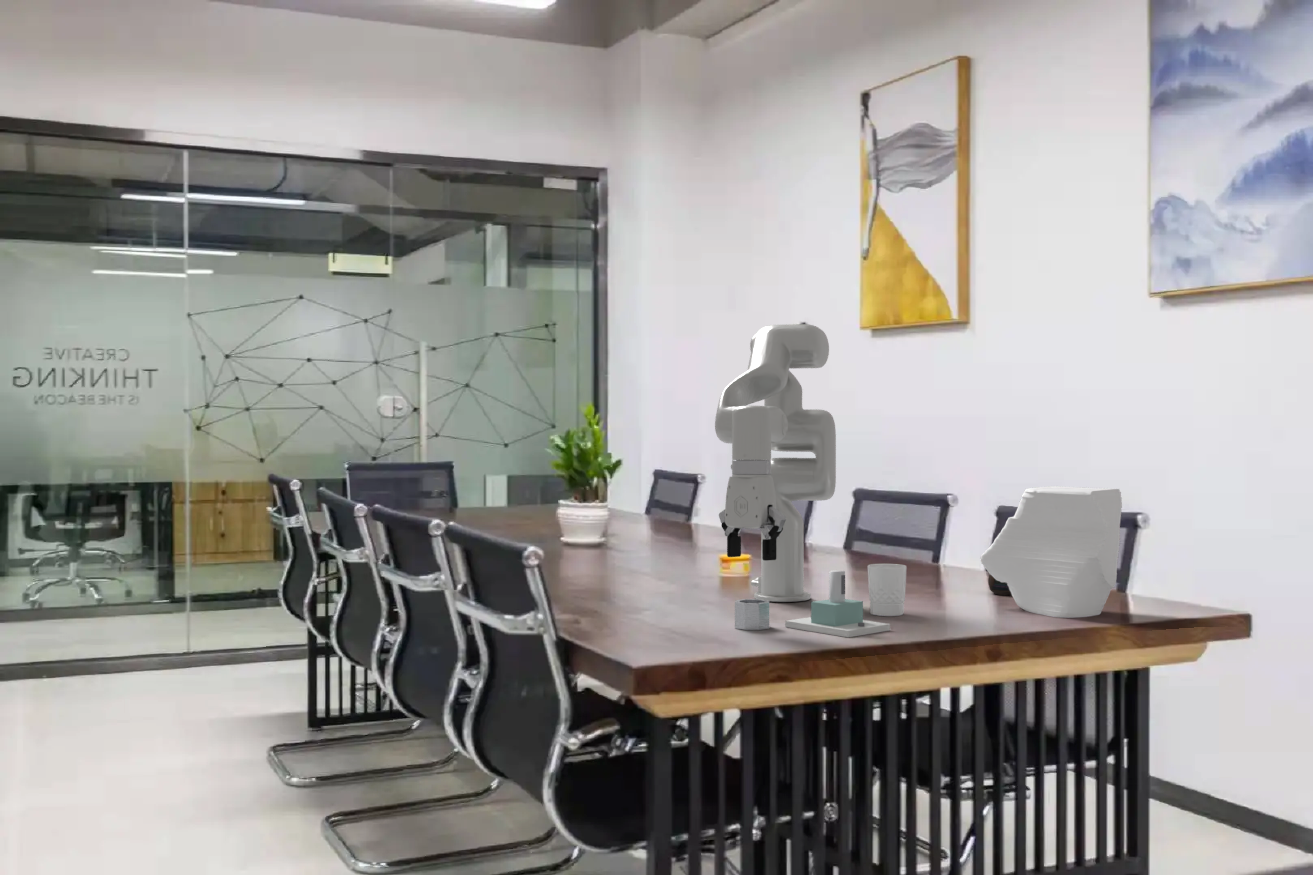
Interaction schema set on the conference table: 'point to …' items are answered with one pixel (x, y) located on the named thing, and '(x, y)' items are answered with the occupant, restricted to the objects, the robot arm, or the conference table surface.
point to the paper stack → (1059, 550)
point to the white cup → (887, 589)
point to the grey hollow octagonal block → (752, 614)
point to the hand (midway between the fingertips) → (751, 558)
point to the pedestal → (837, 613)
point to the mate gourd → (998, 586)
